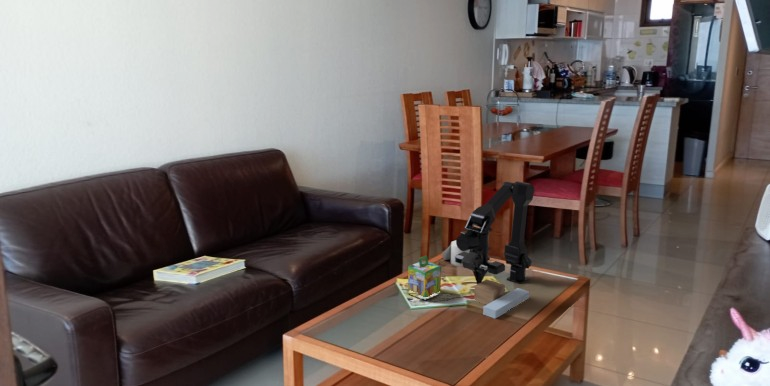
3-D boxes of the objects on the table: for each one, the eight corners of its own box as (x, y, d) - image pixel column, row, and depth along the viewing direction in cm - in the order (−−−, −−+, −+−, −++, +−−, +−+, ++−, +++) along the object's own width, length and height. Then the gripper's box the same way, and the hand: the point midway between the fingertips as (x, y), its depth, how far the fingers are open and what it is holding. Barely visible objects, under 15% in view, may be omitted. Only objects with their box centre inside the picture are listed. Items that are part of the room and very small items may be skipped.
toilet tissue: (439, 260, 272) (439, 241, 270) (469, 258, 274) (469, 239, 272) (444, 267, 263) (445, 248, 261) (475, 265, 266) (476, 246, 263)
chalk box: (425, 301, 231) (425, 264, 227) (407, 294, 237) (407, 257, 233) (441, 294, 237) (442, 257, 234) (423, 287, 244) (423, 251, 240)
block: (485, 294, 237) (486, 279, 236) (504, 299, 232) (505, 284, 231) (474, 301, 231) (474, 285, 230) (493, 307, 226) (493, 291, 225)
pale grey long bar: (517, 295, 236) (517, 287, 235) (528, 299, 233) (529, 291, 232) (483, 314, 221) (483, 306, 220) (495, 318, 217) (495, 310, 217)
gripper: (446, 243, 230) (445, 283, 234) (488, 256, 218) (487, 298, 222) (464, 236, 238) (463, 275, 242) (506, 248, 225) (504, 288, 229)
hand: (478, 284), depth 234 cm, fingers closed
